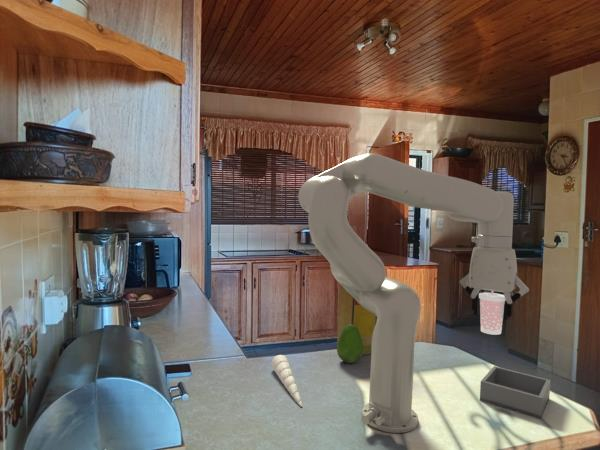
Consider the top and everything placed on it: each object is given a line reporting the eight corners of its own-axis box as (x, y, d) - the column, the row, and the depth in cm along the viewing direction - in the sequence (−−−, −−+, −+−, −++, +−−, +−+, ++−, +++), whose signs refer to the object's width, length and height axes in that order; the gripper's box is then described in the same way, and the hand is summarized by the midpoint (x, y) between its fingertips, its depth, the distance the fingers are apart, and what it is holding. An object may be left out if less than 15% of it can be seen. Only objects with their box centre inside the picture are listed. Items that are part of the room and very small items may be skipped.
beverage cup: (480, 326, 104) (482, 271, 103) (506, 331, 101) (509, 274, 100) (474, 332, 99) (476, 275, 98) (502, 337, 96) (504, 278, 95)
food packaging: (376, 354, 135) (379, 279, 134) (349, 356, 132) (352, 279, 131) (360, 341, 148) (363, 272, 146) (335, 342, 145) (338, 272, 144)
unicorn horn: (286, 410, 97) (287, 390, 96) (270, 370, 120) (271, 354, 120) (305, 409, 98) (306, 389, 98) (286, 369, 121) (287, 353, 121)
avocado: (354, 369, 122) (356, 329, 121) (331, 362, 126) (333, 324, 126) (366, 361, 129) (367, 323, 128) (343, 355, 133) (345, 318, 132)
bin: (540, 419, 96) (542, 398, 96) (479, 400, 105) (480, 381, 104) (549, 398, 107) (550, 380, 107) (493, 383, 115) (494, 365, 115)
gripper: (452, 241, 101) (450, 313, 102) (532, 246, 90) (528, 327, 91) (462, 239, 107) (460, 307, 108) (538, 244, 96) (534, 320, 97)
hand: (491, 315), depth 100 cm, fingers closed on beverage cup, 6 cm apart
